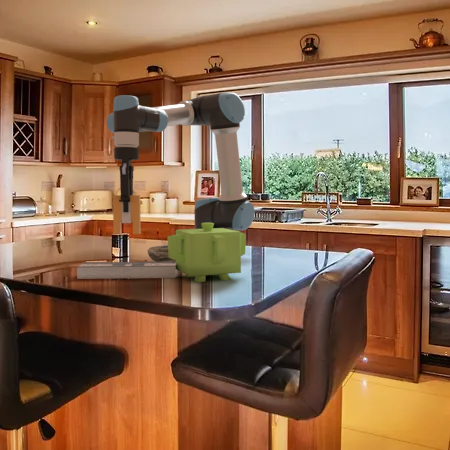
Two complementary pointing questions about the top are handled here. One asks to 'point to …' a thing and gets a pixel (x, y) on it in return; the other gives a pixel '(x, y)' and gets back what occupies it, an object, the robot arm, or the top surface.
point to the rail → (126, 270)
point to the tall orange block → (134, 213)
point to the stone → (159, 254)
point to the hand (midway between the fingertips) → (127, 222)
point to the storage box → (207, 251)
